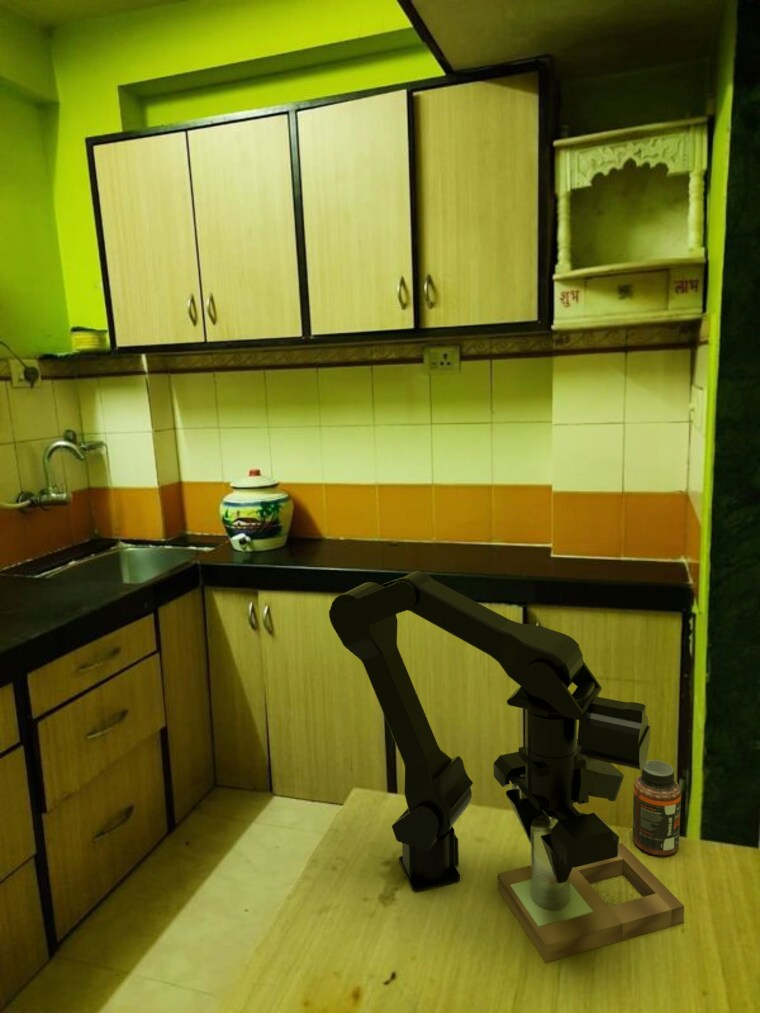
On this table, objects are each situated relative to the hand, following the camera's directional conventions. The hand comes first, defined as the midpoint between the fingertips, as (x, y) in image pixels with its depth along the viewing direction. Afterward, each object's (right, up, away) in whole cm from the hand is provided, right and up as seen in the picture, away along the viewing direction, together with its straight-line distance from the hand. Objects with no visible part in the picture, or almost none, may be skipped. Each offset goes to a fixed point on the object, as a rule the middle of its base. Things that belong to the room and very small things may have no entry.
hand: (550, 867), depth 83 cm
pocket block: (+5, -6, +2) cm, 8 cm away
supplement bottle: (+18, -4, +13) cm, 22 cm away
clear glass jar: (0, -4, +1) cm, 4 cm away
